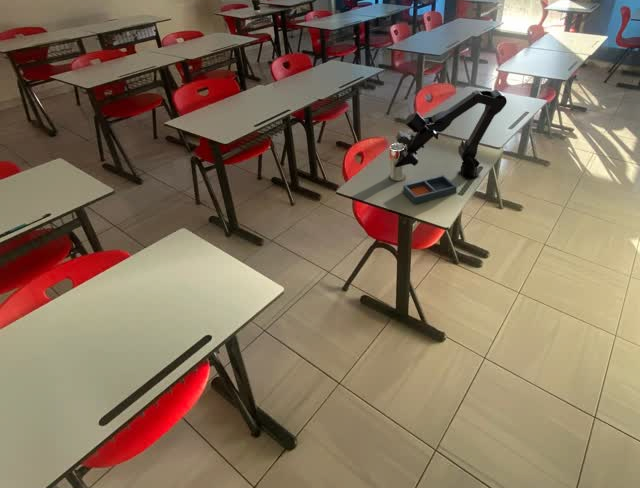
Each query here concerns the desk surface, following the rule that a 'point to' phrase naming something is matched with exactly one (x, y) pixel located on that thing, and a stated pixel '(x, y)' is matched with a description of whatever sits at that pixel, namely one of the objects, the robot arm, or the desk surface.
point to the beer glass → (394, 157)
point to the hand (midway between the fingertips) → (394, 162)
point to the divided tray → (429, 189)
